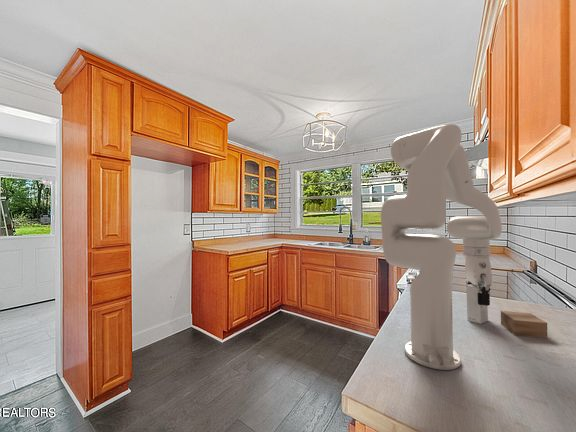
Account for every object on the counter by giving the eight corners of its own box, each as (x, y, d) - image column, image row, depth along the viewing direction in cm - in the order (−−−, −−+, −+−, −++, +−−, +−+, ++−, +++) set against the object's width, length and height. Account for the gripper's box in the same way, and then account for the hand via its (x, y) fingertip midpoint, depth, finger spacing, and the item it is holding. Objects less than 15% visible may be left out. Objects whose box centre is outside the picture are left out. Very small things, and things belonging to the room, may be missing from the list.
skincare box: (481, 324, 84) (480, 288, 84) (466, 320, 88) (465, 285, 88) (488, 320, 88) (488, 285, 88) (473, 316, 92) (473, 282, 92)
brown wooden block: (547, 338, 74) (547, 322, 74) (514, 334, 77) (514, 320, 77) (530, 326, 82) (530, 313, 82) (501, 324, 84) (500, 310, 84)
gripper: (501, 255, 79) (503, 310, 79) (478, 248, 95) (479, 293, 96) (473, 255, 81) (475, 308, 81) (455, 248, 98) (456, 292, 98)
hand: (477, 300), depth 88 cm, fingers open, 9 cm apart
